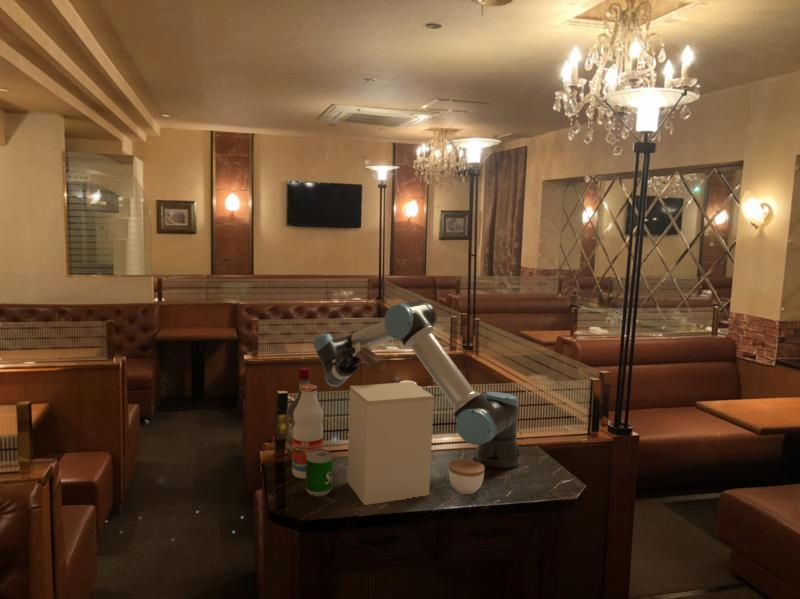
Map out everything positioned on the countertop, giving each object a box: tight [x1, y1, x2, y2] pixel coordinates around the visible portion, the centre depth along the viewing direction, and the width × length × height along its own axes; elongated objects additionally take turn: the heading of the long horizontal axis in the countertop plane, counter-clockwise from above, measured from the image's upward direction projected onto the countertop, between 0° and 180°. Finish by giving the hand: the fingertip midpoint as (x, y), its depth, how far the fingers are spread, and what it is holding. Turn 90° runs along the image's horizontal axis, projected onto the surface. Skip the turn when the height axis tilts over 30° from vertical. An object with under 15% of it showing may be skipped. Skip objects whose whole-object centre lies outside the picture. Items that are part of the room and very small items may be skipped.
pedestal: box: [346, 381, 435, 506], centre depth 182 cm, size 20×16×30 cm
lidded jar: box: [448, 458, 486, 495], centre depth 185 cm, size 11×11×9 cm
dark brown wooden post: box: [352, 345, 386, 371], centre depth 199 cm, size 3×24×3 cm, turn 23°
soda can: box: [305, 448, 334, 497], centre depth 180 cm, size 8×8×12 cm
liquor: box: [286, 367, 311, 460], centre depth 205 cm, size 9×9×30 cm
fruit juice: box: [291, 383, 324, 480], centre depth 192 cm, size 9×9×28 cm
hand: (364, 346), depth 202 cm, fingers closed on dark brown wooden post, 3 cm apart
